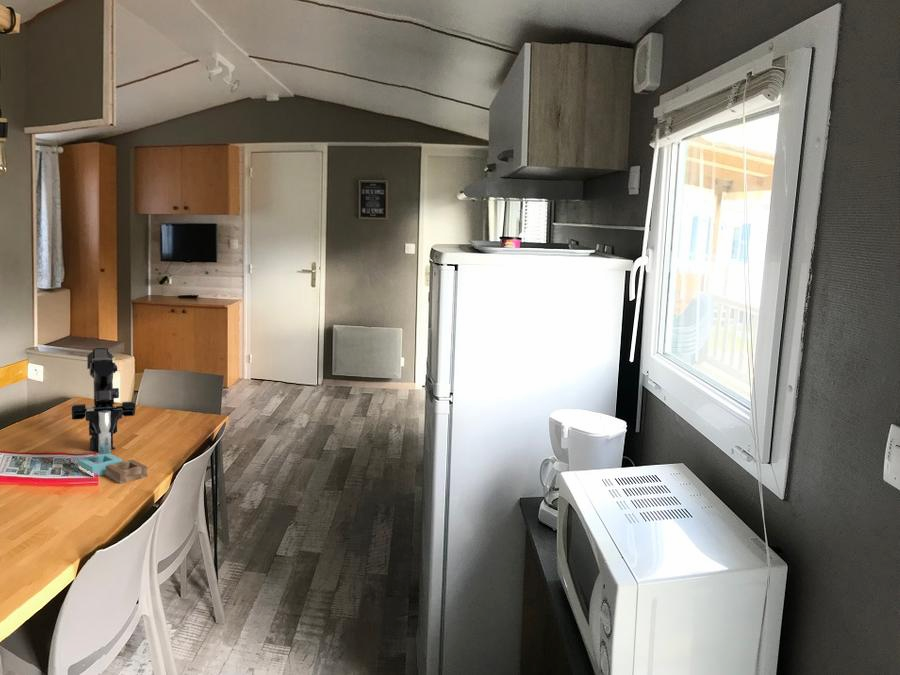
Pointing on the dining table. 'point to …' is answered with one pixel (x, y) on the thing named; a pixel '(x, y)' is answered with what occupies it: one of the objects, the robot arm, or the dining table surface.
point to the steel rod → (104, 431)
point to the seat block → (98, 463)
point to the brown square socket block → (126, 471)
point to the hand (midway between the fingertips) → (104, 433)
